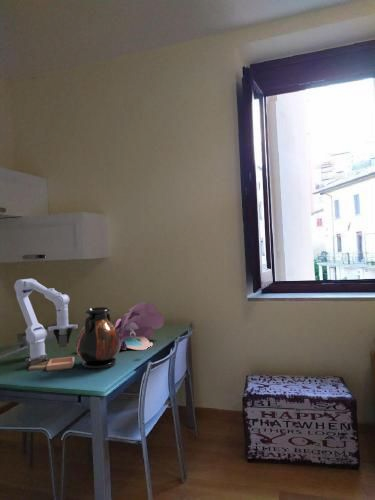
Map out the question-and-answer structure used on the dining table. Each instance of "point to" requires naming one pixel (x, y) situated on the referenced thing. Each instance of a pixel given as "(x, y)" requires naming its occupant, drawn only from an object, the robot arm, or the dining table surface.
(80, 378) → the dining table surface
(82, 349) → the amphora vase
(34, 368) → the crank base
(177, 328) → the dining table surface
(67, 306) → the robot arm
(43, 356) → the crank lever
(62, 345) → the stop block
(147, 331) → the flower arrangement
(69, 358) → the tray
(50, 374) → the dining table surface
